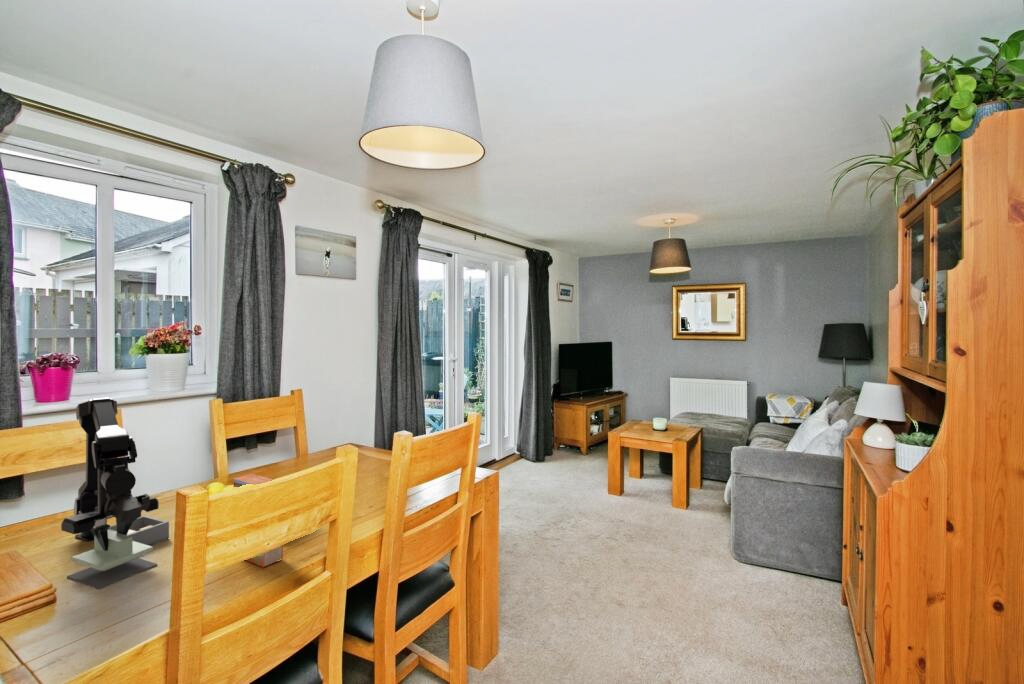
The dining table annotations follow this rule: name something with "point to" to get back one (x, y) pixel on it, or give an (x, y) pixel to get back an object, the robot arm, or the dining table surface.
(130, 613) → the dining table surface
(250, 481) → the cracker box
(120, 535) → the lid
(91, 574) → the mat
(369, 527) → the dining table surface
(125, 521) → the robot arm
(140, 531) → the storage box
